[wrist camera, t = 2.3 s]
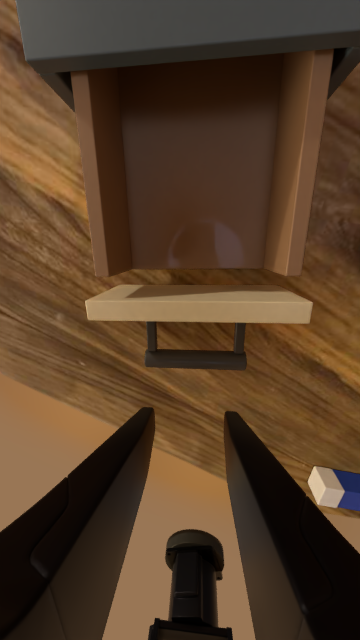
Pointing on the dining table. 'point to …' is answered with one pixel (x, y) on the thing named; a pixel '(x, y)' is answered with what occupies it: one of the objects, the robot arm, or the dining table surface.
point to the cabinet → (181, 33)
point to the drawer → (201, 187)
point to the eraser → (335, 488)
